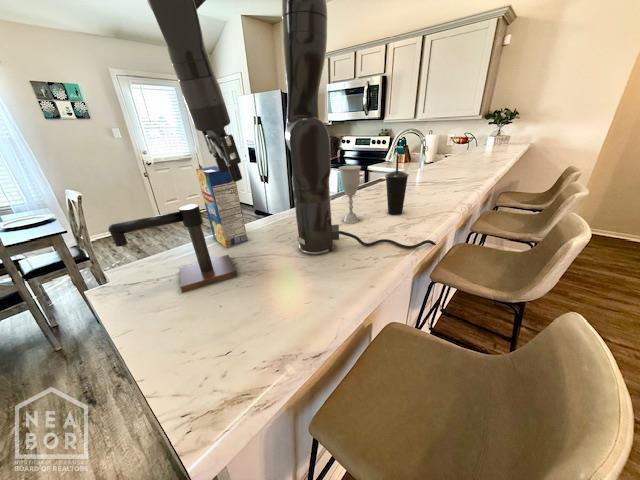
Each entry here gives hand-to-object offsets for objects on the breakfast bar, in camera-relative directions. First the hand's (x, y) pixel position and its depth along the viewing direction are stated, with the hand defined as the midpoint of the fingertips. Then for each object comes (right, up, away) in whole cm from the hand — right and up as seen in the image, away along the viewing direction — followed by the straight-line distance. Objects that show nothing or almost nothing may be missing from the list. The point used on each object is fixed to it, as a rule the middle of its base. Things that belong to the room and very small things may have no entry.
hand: (230, 175), depth 64 cm
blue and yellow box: (-7, -16, +19) cm, 26 cm away
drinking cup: (+49, -6, +30) cm, 58 cm away
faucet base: (-6, -24, 0) cm, 25 cm away
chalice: (+33, -9, +27) cm, 43 cm away
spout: (-12, -15, -8) cm, 21 cm away
